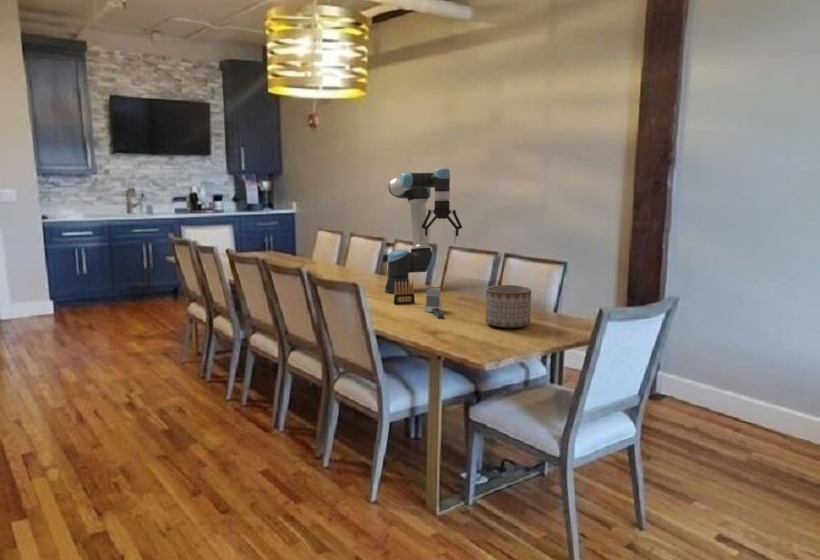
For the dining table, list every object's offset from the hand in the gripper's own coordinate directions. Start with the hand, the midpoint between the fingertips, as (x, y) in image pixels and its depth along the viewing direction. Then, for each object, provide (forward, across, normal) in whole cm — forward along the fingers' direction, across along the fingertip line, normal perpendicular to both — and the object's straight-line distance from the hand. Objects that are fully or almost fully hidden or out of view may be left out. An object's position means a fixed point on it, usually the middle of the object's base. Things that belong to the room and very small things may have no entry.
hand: (441, 242), depth 311 cm
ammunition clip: (+32, -19, -2) cm, 37 cm away
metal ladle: (+32, 0, -23) cm, 39 cm away
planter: (+32, +34, -40) cm, 61 cm away
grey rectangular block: (+29, -2, -17) cm, 33 cm away
